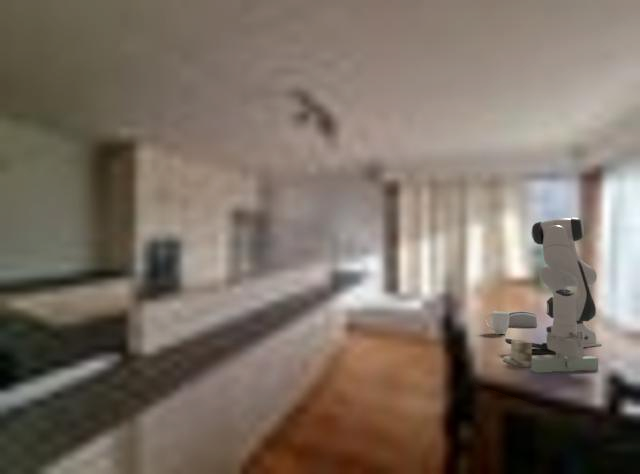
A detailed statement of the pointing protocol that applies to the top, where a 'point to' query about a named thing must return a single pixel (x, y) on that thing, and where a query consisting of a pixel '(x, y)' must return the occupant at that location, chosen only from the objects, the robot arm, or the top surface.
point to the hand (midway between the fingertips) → (564, 365)
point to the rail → (563, 364)
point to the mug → (499, 321)
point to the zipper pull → (542, 351)
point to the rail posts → (525, 353)
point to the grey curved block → (522, 319)
